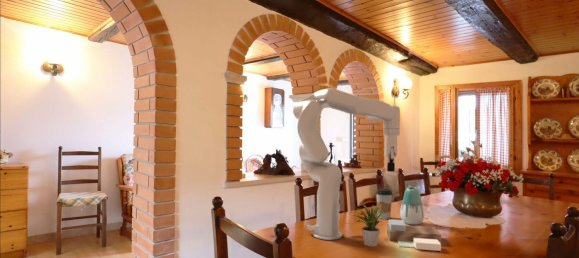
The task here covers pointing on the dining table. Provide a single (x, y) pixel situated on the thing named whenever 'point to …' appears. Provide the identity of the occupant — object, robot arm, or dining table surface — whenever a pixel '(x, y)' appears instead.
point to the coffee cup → (384, 202)
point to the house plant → (370, 226)
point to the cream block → (427, 244)
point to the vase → (412, 207)
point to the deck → (414, 233)
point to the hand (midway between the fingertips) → (390, 171)
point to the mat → (406, 244)
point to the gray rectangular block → (397, 225)
